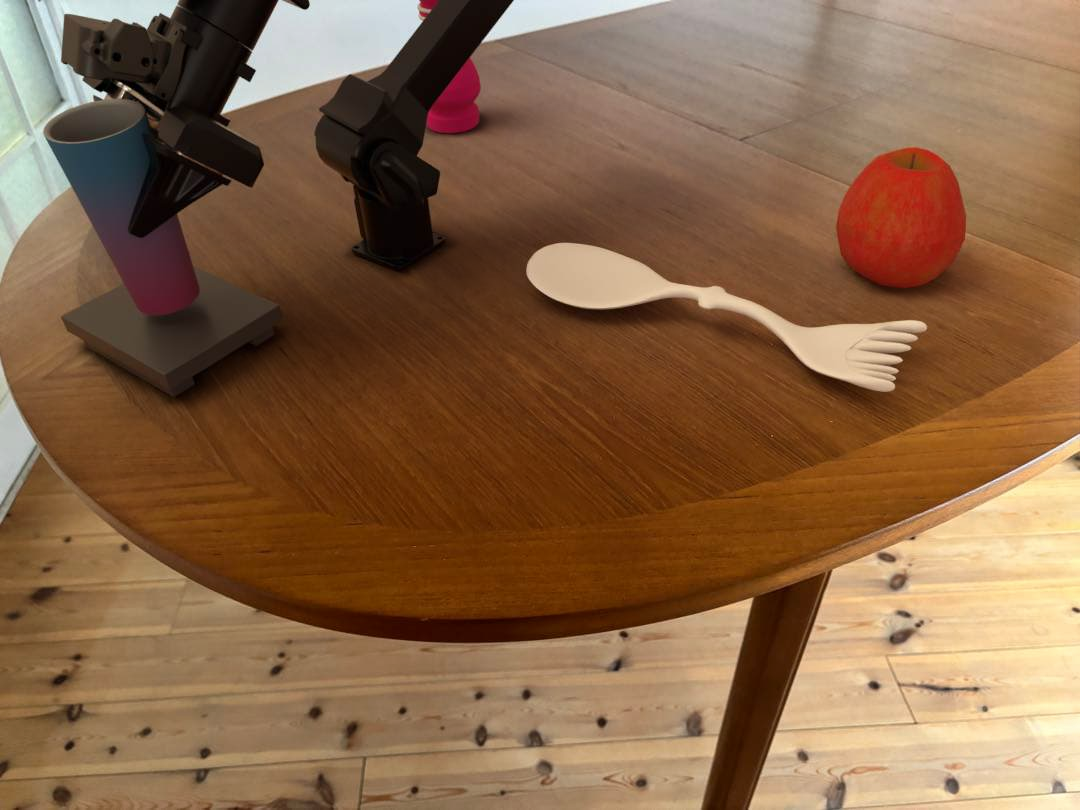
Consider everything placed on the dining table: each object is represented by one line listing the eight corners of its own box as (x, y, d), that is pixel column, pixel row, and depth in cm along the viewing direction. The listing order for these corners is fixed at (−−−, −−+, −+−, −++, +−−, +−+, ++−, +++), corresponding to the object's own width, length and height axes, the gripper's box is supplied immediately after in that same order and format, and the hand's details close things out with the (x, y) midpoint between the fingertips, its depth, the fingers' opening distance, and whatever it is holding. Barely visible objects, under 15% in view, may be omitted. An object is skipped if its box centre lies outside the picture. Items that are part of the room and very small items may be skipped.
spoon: (885, 421, 64) (895, 382, 62) (508, 300, 78) (505, 265, 76) (920, 354, 70) (930, 317, 68) (563, 253, 84) (562, 219, 82)
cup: (228, 279, 75) (165, 103, 65) (177, 328, 70) (101, 147, 60) (159, 267, 77) (88, 95, 67) (106, 315, 72) (20, 137, 62)
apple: (845, 228, 85) (865, 119, 78) (962, 250, 81) (994, 138, 74) (816, 282, 78) (836, 168, 72) (943, 309, 74) (976, 191, 68)
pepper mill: (492, 128, 107) (477, -60, 94) (432, 140, 105) (408, -50, 92) (472, 107, 112) (455, -74, 99) (415, 118, 110) (390, -65, 97)
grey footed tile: (287, 335, 76) (279, 304, 74) (176, 406, 69) (164, 374, 67) (184, 286, 82) (174, 256, 81) (73, 346, 76) (60, 316, 74)
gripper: (62, -62, 65) (-31, 134, 67) (164, -11, 54) (49, 222, 56) (198, 24, 74) (113, 195, 76) (311, 83, 63) (207, 282, 65)
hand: (118, 220), depth 68 cm, fingers closed on cup, 6 cm apart
